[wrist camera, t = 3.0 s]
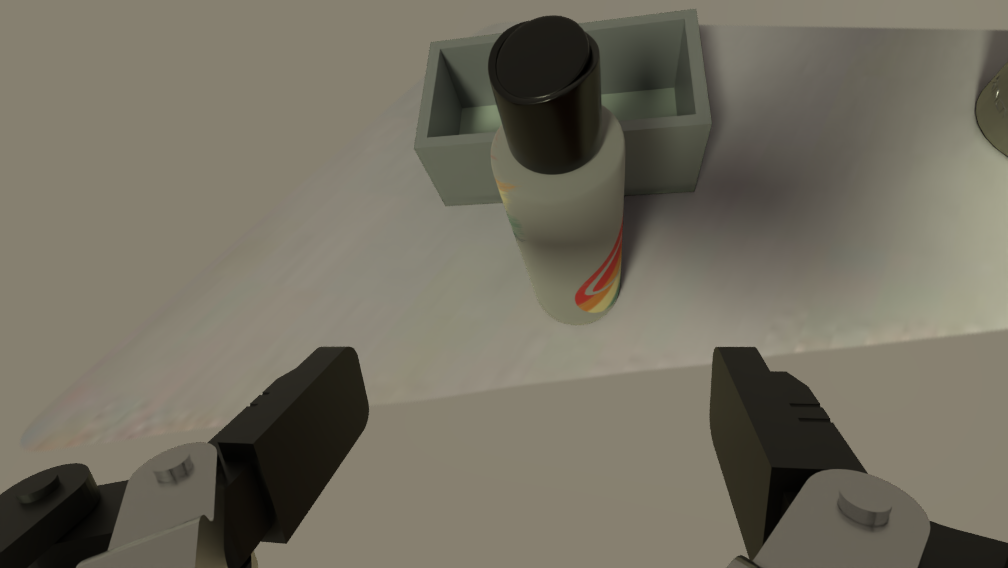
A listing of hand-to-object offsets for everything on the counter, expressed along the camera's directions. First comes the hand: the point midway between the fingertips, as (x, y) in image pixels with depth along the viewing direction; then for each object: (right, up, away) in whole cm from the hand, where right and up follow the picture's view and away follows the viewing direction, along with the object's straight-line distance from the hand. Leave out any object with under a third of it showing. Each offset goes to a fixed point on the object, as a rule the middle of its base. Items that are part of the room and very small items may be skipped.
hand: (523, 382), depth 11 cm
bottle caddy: (+4, +13, +28) cm, 31 cm away
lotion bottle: (+5, +2, +23) cm, 24 cm away
